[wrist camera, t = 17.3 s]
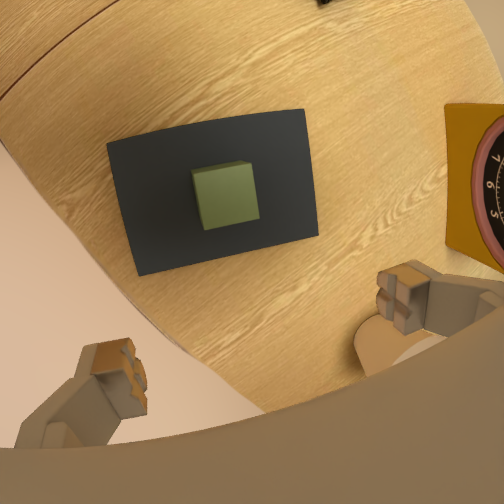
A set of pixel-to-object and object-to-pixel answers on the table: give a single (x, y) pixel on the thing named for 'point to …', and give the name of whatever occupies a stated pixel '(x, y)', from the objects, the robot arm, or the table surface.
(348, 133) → the table surface
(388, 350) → the cup
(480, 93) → the table surface
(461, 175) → the alarm clock
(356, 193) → the table surface
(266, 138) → the mat
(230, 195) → the green block
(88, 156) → the table surface
